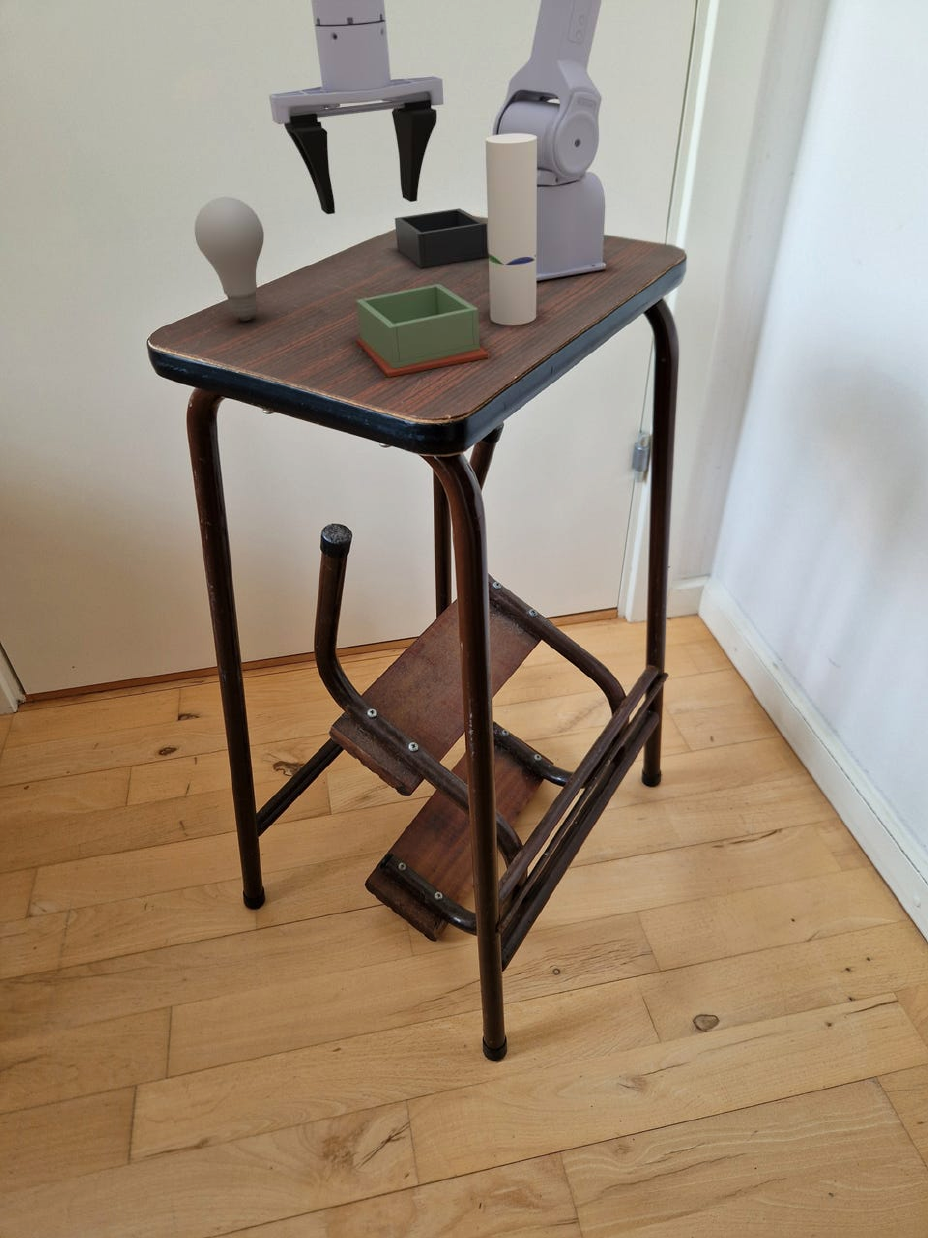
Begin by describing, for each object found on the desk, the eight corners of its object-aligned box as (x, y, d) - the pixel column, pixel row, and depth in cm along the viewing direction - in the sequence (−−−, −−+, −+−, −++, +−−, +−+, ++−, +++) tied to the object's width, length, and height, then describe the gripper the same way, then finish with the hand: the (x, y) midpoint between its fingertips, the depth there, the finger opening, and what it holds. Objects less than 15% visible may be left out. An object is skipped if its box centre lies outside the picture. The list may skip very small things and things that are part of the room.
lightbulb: (264, 332, 83) (240, 206, 76) (204, 330, 84) (175, 206, 77) (287, 310, 88) (267, 189, 81) (229, 308, 89) (205, 189, 82)
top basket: (441, 321, 82) (439, 283, 80) (479, 349, 76) (478, 308, 74) (360, 339, 79) (355, 299, 77) (393, 368, 73) (389, 327, 71)
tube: (500, 307, 85) (496, 132, 76) (542, 311, 84) (543, 133, 75) (483, 322, 82) (477, 142, 73) (527, 327, 81) (526, 143, 71)
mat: (450, 324, 82) (449, 320, 82) (488, 357, 75) (487, 353, 75) (357, 342, 80) (356, 337, 79) (388, 377, 73) (387, 372, 73)
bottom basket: (461, 239, 104) (460, 207, 102) (487, 256, 99) (486, 223, 96) (397, 249, 102) (394, 217, 100) (420, 268, 96) (418, 234, 94)
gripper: (418, 12, 75) (429, 185, 84) (250, 27, 72) (280, 207, 80) (448, 16, 70) (457, 200, 79) (269, 33, 66) (298, 224, 75)
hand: (369, 205), depth 79 cm, fingers open, 7 cm apart
